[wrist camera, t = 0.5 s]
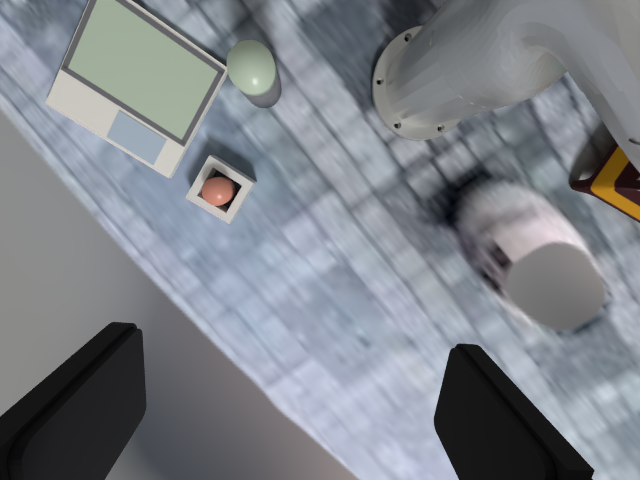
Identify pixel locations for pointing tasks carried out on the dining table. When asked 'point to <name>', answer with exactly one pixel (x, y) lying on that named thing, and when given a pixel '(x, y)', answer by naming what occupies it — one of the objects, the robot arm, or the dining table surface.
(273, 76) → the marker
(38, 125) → the dining table surface
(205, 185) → the button
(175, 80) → the picture board
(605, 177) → the decorative lantern
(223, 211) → the button housing
